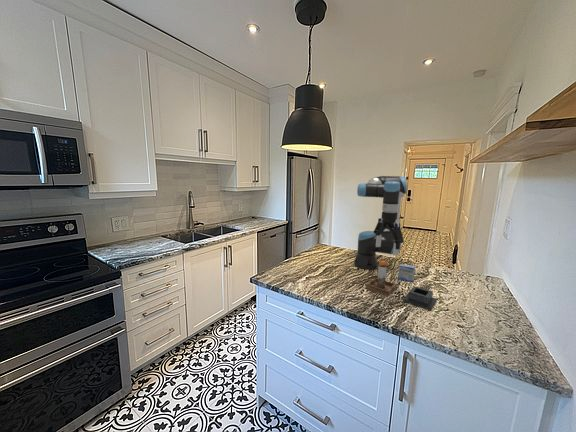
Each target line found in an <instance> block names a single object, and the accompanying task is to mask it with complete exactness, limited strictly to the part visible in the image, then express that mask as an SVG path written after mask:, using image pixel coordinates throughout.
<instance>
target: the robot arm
mask: <svg viewBox="0 0 576 432" xmlns="http://www.w3.org/2000/svg"><path fill="white" fill-rule="evenodd" d="M407 184H408V183H407V178H406V176H402V175H400V176H399V175H397V176H396V175H392V176H391V175H390V176H389V175H380V176H374V177H373V178H370V179H369V180H368V181H367V183H364V182H363V183H358V185H357V188H356V189H357V190H356V191H357V192H356V193H357V196H358V197H362V198H381V199H382V198H383V199H382V205H381V206H382V209H381V210H382V212H381V217H380V218H378V220H377V223H376V226H375V228H374V230H365V231H362V232H359V233H358V239H357V251H356V252H357V253H356V255H355V258H354V260H353V265H354V267H356V268H358V269H361V270H362V269H363V270H368V271H369V270H375V269H378V267H379V262H378V260H377V257H376V254H377V253H381V254H387V255H392V256H398V255H399V253H400V251H401V247H402V243H404V236H403V232H402V228H401V223H400V218H401V217H400V216H401V206H402V198H404V196H405V195H406V194H407V193H408V188H407V187H408V185H407Z"/></svg>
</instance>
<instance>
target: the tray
mask: <svg viewBox="0 0 576 432" xmlns="http://www.w3.org/2000/svg"><path fill="white" fill-rule="evenodd" d="M377 281H378V277H374V278H373V279H371V280H370V281H368V282H367V283H366V284H365V290H367V291H371V292H373V293H377V294H379V295H382V296H385V297H390V295H392V294H393V293H394V291H396V289H397V286H398V284H397V283H394V282H391V281H388V280H386V282H385V289H381V288H378V287H377Z"/></svg>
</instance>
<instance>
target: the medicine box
mask: <svg viewBox="0 0 576 432" xmlns="http://www.w3.org/2000/svg"><path fill="white" fill-rule="evenodd" d="M415 267H416V266H415V265H412V264H410V265H409V264H404V263H399V268H398V276H397V277H398V278H397V280H399V281H405V282H409V283H413V282H414V276H415V269H416V268H415Z"/></svg>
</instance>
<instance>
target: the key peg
mask: <svg viewBox="0 0 576 432" xmlns="http://www.w3.org/2000/svg"><path fill="white" fill-rule="evenodd" d="M387 267H388V260H386V259H379V260H378V267H377V269H378V270H377V278H378V281H377V287H378V288H381V289H385V282H386V281H387V280H386V279H387V269H388V268H387Z"/></svg>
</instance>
